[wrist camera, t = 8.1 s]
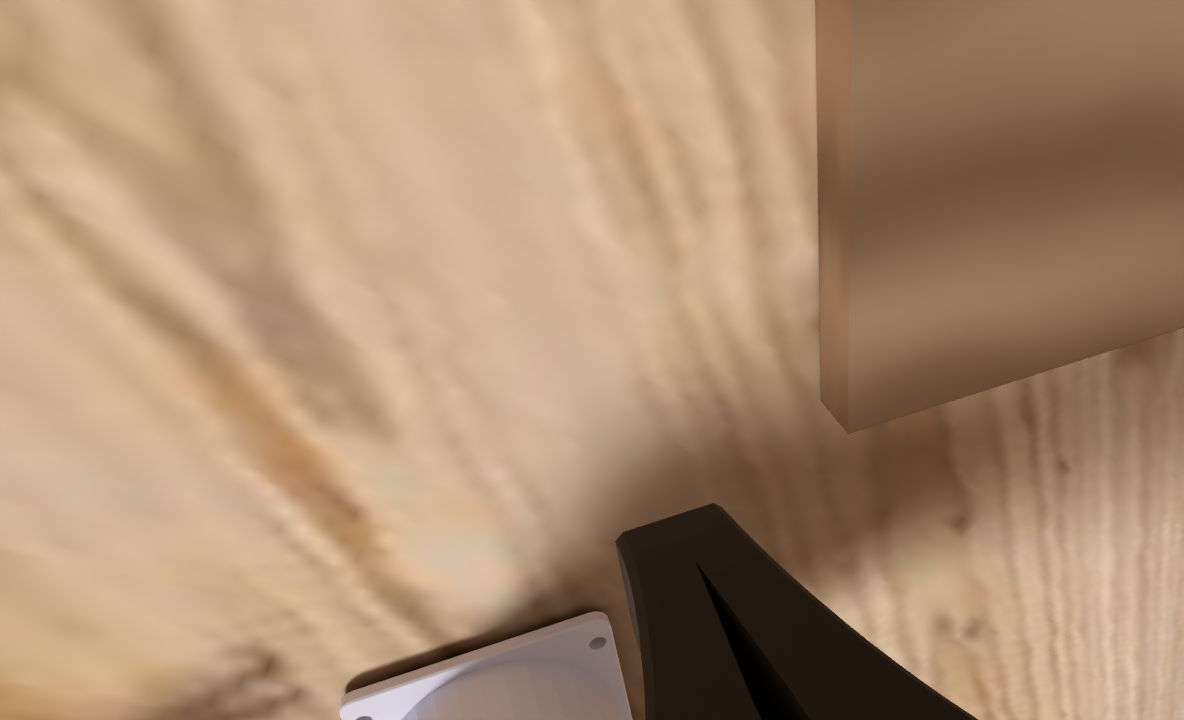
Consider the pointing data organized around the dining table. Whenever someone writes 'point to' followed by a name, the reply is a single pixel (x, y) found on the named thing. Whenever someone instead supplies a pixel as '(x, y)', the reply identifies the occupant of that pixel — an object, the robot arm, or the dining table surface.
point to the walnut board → (992, 192)
